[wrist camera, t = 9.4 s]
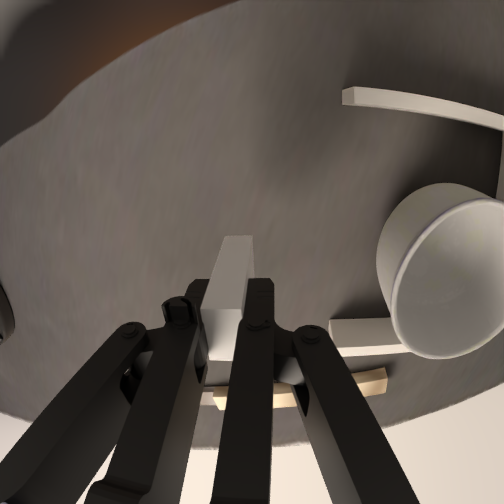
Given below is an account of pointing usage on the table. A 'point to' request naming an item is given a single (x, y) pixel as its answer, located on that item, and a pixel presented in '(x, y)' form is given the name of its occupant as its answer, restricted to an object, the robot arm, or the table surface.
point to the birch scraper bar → (283, 395)
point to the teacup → (444, 270)
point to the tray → (381, 329)
